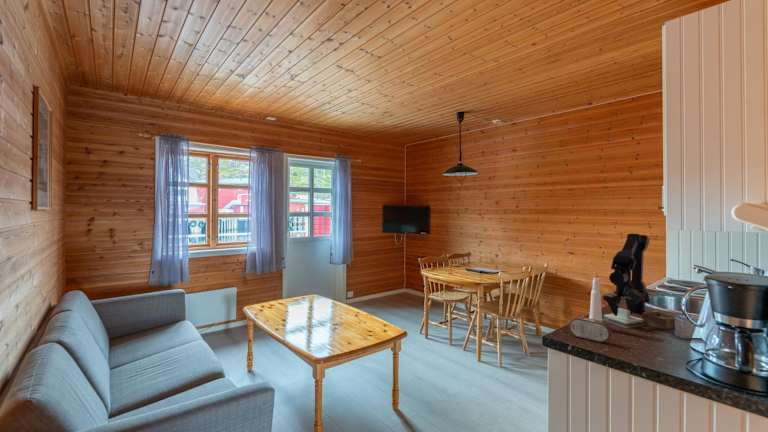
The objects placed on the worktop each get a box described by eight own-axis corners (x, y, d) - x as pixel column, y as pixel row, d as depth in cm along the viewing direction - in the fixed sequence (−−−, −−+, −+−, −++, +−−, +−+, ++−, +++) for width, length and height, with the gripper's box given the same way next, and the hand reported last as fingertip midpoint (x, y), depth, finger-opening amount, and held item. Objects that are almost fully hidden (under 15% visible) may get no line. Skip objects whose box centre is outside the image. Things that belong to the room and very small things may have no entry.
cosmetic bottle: (589, 328, 153) (589, 279, 152) (586, 324, 159) (587, 276, 158) (605, 330, 151) (605, 280, 150) (601, 325, 157) (602, 277, 156)
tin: (612, 343, 137) (612, 322, 136) (610, 345, 134) (610, 324, 134) (570, 333, 147) (570, 314, 147) (568, 335, 145) (568, 315, 144)
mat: (619, 316, 170) (619, 316, 170) (647, 325, 157) (647, 324, 157) (599, 319, 166) (599, 318, 166) (626, 328, 153) (626, 327, 153)
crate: (656, 320, 164) (657, 310, 164) (680, 327, 155) (680, 317, 154) (641, 322, 161) (641, 312, 161) (665, 329, 151) (665, 319, 151)
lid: (620, 317, 168) (620, 305, 168) (643, 324, 158) (643, 311, 158) (604, 319, 165) (604, 307, 165) (626, 326, 154) (626, 314, 154)
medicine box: (694, 335, 145) (695, 314, 145) (703, 339, 140) (703, 318, 140) (674, 334, 146) (674, 314, 145) (682, 338, 141) (682, 317, 141)
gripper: (625, 286, 150) (625, 322, 151) (655, 283, 156) (655, 318, 157) (602, 281, 161) (601, 314, 161) (631, 278, 167) (631, 311, 167)
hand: (623, 314), depth 161 cm, fingers open, 9 cm apart
